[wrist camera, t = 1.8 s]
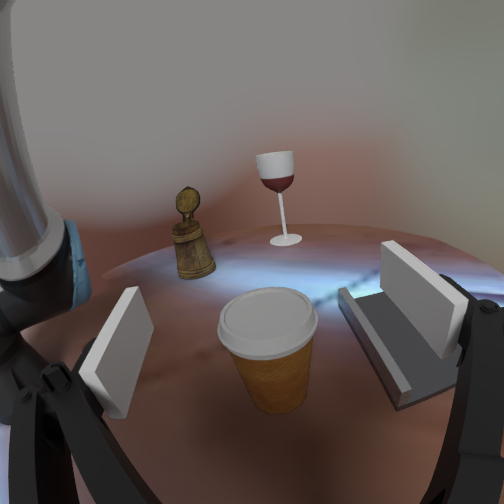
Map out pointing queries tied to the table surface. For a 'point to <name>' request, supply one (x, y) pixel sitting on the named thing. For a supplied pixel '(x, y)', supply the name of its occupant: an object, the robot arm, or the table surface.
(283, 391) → the disposable coffee cup
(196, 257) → the wooden mug
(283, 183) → the wineglass
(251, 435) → the table surface
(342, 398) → the table surface
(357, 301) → the tray
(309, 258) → the table surface
